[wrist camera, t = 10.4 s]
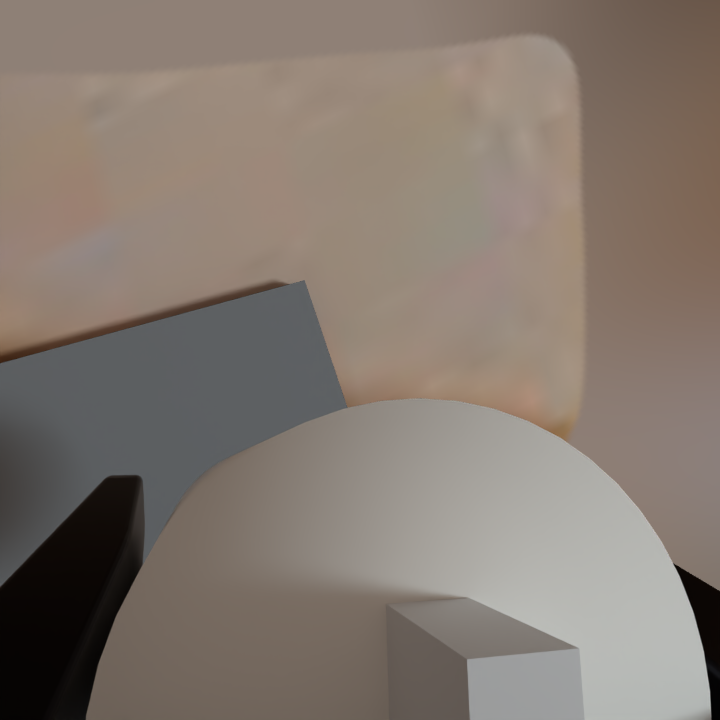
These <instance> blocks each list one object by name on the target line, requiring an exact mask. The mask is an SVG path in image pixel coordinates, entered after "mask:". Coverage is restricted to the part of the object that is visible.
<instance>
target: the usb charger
mask: <svg viewBox="0 0 720 720" xmlns="http://www.w3.org/2000/svg"><path fill="white" fill-rule="evenodd" d="M86 720H711V702H710V688H709V682H708V675H707V669H706V662H705V656H704V650H703V646H702V643H701V639H700V635H699V631H698V628H697V624H696V620H695V616H694V613H693V610H692V607H691V605H690V602H689V600H688V597H687V594H686V592H685V589H684V587H683V584H682V581H681V579H680V576H679V574H678V572H677V570H676V568H675V567H674V565H673V563H672V561H671V559H670V557H669V555H668V553H667V551H666V549H665V547H664V545H663V543H662V542H661V540H660V539H659V537H658V536H657V534H656V533H655V531H654V530H653V528H652V527H651V525H650V524H649V522H648V521H647V519H646V518H645V516H644V515H643V514H642V512H641V511H640V509H639V508H638V507H637V506H636V505H635V504H634V503H633V501H632V500H631V499H630V498H629V497H628V496H627V494H626V493H625V492H624V491H623V490H622V489H621V487H620V486H619V485H618V484H617V483H616V482H615V481H614V480H613V479H612V478H611V477H610V476H608V475H607V474H606V473H605V472H604V471H603V470H602V469H601V468H600V467H598V466H597V465H596V464H595V463H594V462H593V461H592V460H591V459H590V458H588V457H587V456H585V455H584V454H583V453H581V452H580V451H578V450H577V449H575V448H574V447H572V446H571V445H570V444H568V443H567V442H565V441H564V440H563V439H561V438H560V437H558V436H556V435H554V434H552V433H550V432H548V431H546V430H544V429H542V428H540V427H538V426H536V425H535V424H533V423H531V422H529V421H526V420H524V419H521V418H518V417H515V416H513V415H510V414H507V413H504V412H501V411H499V410H496V409H493V408H488V407H483V406H479V405H474V404H469V403H464V402H460V401H450V400H436V399H422V398H418V399H403V400H388V401H379V402H374V403H369V404H364V405H359V406H355V407H350V408H345V409H341V410H339V411H336V412H333V413H330V414H327V415H324V416H321V417H319V418H316V419H313V420H310V421H307V422H305V423H302V424H300V425H298V426H296V427H294V428H291V429H289V430H287V431H285V432H283V433H281V434H278V435H276V436H274V437H272V438H270V439H267V440H265V441H263V442H261V443H259V444H256V445H254V446H252V447H250V448H248V449H246V450H243V451H241V452H239V453H237V454H235V455H232V456H230V457H228V458H226V459H224V460H222V461H220V462H218V463H217V464H215V465H214V466H212V467H211V468H209V469H208V470H207V471H205V472H204V473H203V474H202V475H201V476H200V477H199V478H197V479H196V480H195V481H194V482H193V484H192V485H191V486H190V487H189V488H188V489H187V490H186V492H185V493H184V495H183V496H182V498H181V499H180V500H179V502H178V504H177V505H176V507H175V509H174V511H173V512H172V514H171V516H170V518H169V519H168V521H167V523H166V525H165V527H164V528H163V530H162V532H161V534H160V535H159V537H158V539H157V541H156V542H155V544H154V546H153V548H152V550H151V551H150V553H149V555H148V557H147V558H146V560H145V562H144V564H143V565H142V567H141V569H140V571H139V573H138V575H137V576H136V578H135V580H134V582H133V584H132V586H131V588H130V590H129V592H128V594H127V596H126V598H125V600H124V602H123V604H122V606H121V608H120V610H119V612H118V613H117V615H116V618H115V620H114V623H113V626H112V628H111V631H110V634H109V637H108V639H107V642H106V645H105V648H104V650H103V653H102V656H101V658H100V661H99V664H98V667H97V672H96V676H95V680H94V685H93V689H92V693H91V697H90V702H89V706H88V710H87V714H86Z"/></svg>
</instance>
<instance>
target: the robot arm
mask: <svg viewBox="0 0 720 720" xmlns="http://www.w3.org/2000/svg"><path fill="white" fill-rule="evenodd" d="M144 538H145V514H144V492H143V480H142V478H141V476H139V475H111V476H108V477H106V478H105V479H104V480H103V481H102V482H101V483H100V484H99V485H98V486H97V487H96V488H95V489H94V490H93V491H92V492H91V493H90V494H89V495H88V496H87V497H86V498H85V499H84V500H83V502H82V503H81V504H80V505H79V506H78V507H77V508H76V509H75V510H74V511H73V512H72V513H71V514H70V515H69V516H68V517H67V518H66V519H65V520H64V521H63V522H62V523H61V524H60V525H59V526H58V527H57V528H56V529H55V531H54V532H53V533H52V534H51V535H50V536H49V537H48V538H47V539H46V540H45V541H44V542H43V543H42V544H41V545H40V546H39V547H38V548H37V549H36V550H35V551H34V552H33V553H32V554H31V555H30V556H29V557H28V558H27V559H26V561H25V562H24V563H23V564H22V565H21V566H20V567H19V568H18V569H17V570H16V571H15V572H14V573H13V574H12V575H11V576H10V577H9V578H8V579H7V580H6V581H5V582H4V583H3V584H2V585H1V586H0V720H86V714H87V710H88V706H89V702H90V697H91V693H92V689H93V685H94V680H95V676H96V672H97V667H98V664H99V661H100V658H101V656H102V653H103V650H104V648H105V645H106V642H107V639H108V637H109V634H110V631H111V628H112V626H113V623H114V620H115V618H116V615H117V613H118V612H119V610H120V608H121V606H122V604H123V602H124V600H125V598H126V596H127V594H128V592H129V590H130V588H131V586H132V584H133V582H134V580H135V578H136V576H137V575H138V573H139V571H140V569H141V567H142V565H143V553H144ZM673 565H674V567H675V568H676V570H677V572H678V574H679V576H680V579H681V581H682V584H683V587H684V589H685V592H686V594H687V597H688V600H689V602H690V605H691V607H692V610H693V613H694V616H695V620H696V624H697V628H698V631H699V635H700V639H701V643H702V646H703V650H704V656H705V662H706V669H707V675H708V682H709V688H710V702H711V720H720V591H719V590H717V589H715V588H714V587H712V586H710V585H709V584H707V583H705V582H704V581H702V580H700V579H699V578H697V577H695V576H694V575H692V574H690V573H689V572H687V571H685V570H684V569H682V568H680V567H679V566H677V565H675V564H674V563H673Z"/></svg>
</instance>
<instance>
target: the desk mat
mask: <svg viewBox="0 0 720 720" xmlns="http://www.w3.org/2000/svg"><path fill="white" fill-rule="evenodd" d="M345 408H347V405H346V402H345V399H344V396H343V393H342V390H341V387H340V384H339V381H338V378H337V375H336V372H335V369H334V366H333V364H332V361H331V358H330V355H329V352H328V349H327V346H326V343H325V340H324V337H323V334H322V331H321V328H320V325H319V322H318V319H317V316H316V313H315V310H314V307H313V304H312V301H311V298H310V295H309V292H308V289H307V286H306V283H305V280H304V281H300V282H296V283H293V284H289V285H285V286H282V287H278V288H274V289H271V290H267V291H263V292H260V293H256V294H252V295H249V296H245V297H242V298H238V299H234V300H231V301H227V302H223V303H220V304H216V305H212V306H209V307H205V308H201V309H198V310H194V311H190V312H187V313H183V314H179V315H176V316H172V317H168V318H165V319H161V320H157V321H154V322H150V323H146V324H143V325H139V326H135V327H132V328H128V329H124V330H121V331H117V332H113V333H110V334H106V335H102V336H99V337H95V338H91V339H88V340H84V341H80V342H77V343H73V344H69V345H66V346H62V347H58V348H55V349H51V350H47V351H44V352H40V353H36V354H33V355H29V356H25V357H22V358H18V359H14V360H11V361H7V362H3V363H0V586H1V585H2V584H3V583H4V582H5V581H6V580H7V579H8V578H9V577H10V576H11V575H12V574H13V573H14V572H15V571H16V570H17V569H18V568H19V567H20V566H21V565H22V564H23V563H24V562H25V561H26V559H27V558H28V557H29V556H30V555H31V554H32V553H33V552H34V551H35V550H36V549H37V548H38V547H39V546H40V545H41V544H42V543H43V542H44V541H45V540H46V539H47V538H48V537H49V536H50V535H51V534H52V533H53V532H54V531H55V529H56V528H57V527H58V526H59V525H60V524H61V523H62V522H63V521H64V520H65V519H66V518H67V517H68V516H69V515H70V514H71V513H72V512H73V511H74V510H75V509H76V508H77V507H78V506H79V505H80V504H81V503H82V502H83V500H84V499H85V498H86V497H87V496H88V495H89V494H90V493H91V492H92V491H93V490H94V489H95V488H96V487H97V486H98V485H99V484H100V483H101V482H102V481H103V480H104V479H105V478H106V477H108V476H111V475H139V476H141V478H142V480H143V492H144V514H145V538H144V553H143V564H144V562H145V560H146V558H147V557H148V555H149V553H150V551H151V550H152V548H153V546H154V544H155V542H156V541H157V539H158V537H159V535H160V534H161V532H162V530H163V528H164V527H165V525H166V523H167V521H168V519H169V518H170V516H171V514H172V512H173V511H174V509H175V507H176V505H177V504H178V502H179V500H180V499H181V498H182V496H183V495H184V493H185V492H186V490H187V489H188V488H189V487H190V486H191V485H192V484H193V482H194V481H195V480H196V479H197V478H199V477H200V476H201V475H202V474H203V473H204V472H205V471H207V470H208V469H209V468H211V467H212V466H214V465H215V464H217V463H218V462H220V461H222V460H224V459H226V458H228V457H230V456H232V455H235V454H237V453H239V452H241V451H243V450H246V449H248V448H250V447H252V446H254V445H256V444H259V443H261V442H263V441H265V440H267V439H270V438H272V437H274V436H276V435H278V434H281V433H283V432H285V431H287V430H289V429H291V428H294V427H296V426H298V425H300V424H302V423H305V422H307V421H310V420H313V419H316V418H319V417H321V416H324V415H327V414H330V413H333V412H336V411H339V410H341V409H345Z"/></svg>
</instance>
